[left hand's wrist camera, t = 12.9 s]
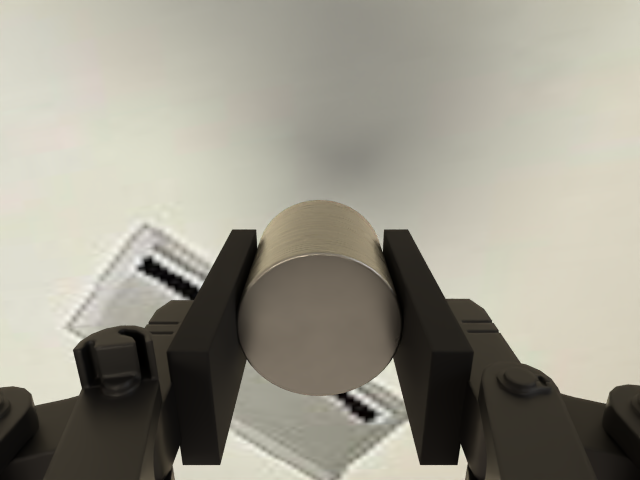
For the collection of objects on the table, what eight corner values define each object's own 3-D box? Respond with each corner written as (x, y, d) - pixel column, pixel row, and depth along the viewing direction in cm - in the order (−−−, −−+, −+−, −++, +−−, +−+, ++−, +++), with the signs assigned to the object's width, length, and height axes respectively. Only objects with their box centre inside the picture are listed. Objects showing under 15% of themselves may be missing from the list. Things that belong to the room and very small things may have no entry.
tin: (310, 332, 16) (308, 422, 12) (232, 250, 15) (199, 319, 11) (405, 267, 15) (436, 340, 11) (329, 173, 14) (333, 217, 10)
